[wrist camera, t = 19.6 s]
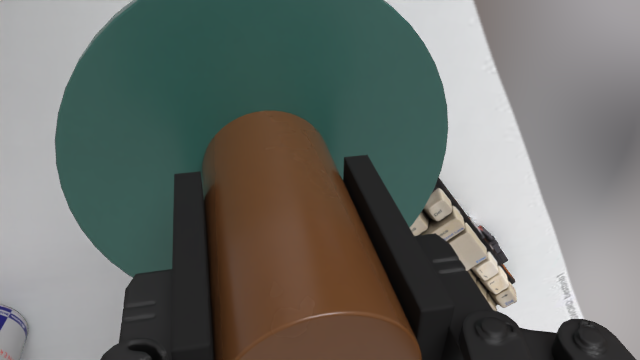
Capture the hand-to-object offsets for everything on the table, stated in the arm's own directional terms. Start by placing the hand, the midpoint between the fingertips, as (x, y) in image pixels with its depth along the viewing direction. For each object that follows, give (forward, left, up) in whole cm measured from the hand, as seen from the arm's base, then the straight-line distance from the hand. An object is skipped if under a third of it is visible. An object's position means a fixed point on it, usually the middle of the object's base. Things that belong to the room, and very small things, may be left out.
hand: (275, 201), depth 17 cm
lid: (0, 0, -3) cm, 3 cm away
